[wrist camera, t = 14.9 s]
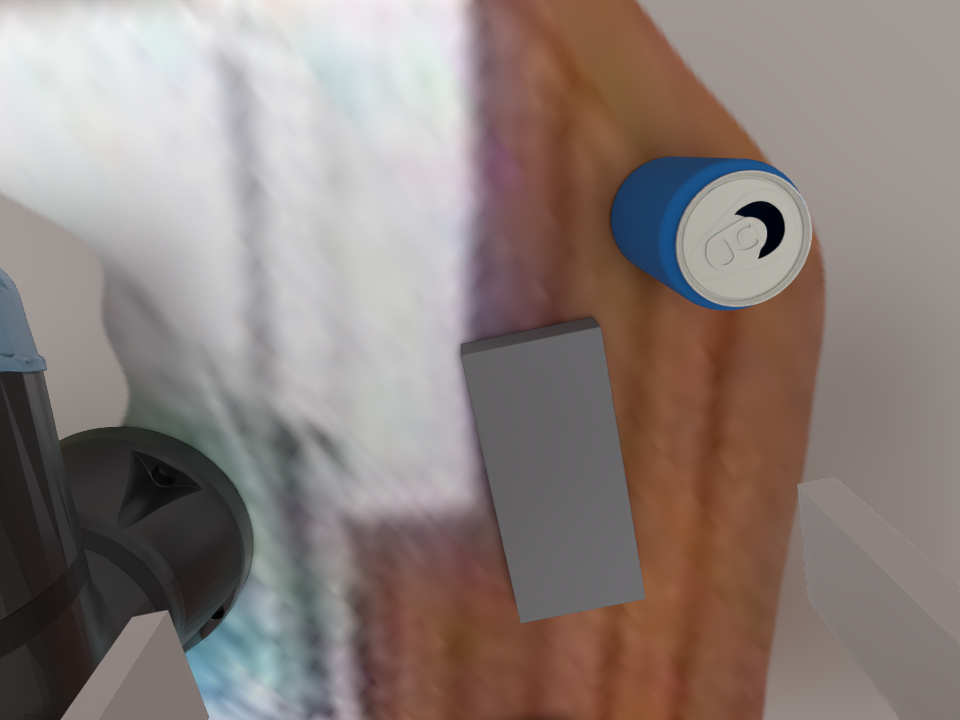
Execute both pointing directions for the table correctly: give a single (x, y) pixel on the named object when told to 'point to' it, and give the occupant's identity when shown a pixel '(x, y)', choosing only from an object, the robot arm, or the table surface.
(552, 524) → the gray rectangular block
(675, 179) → the beverage can
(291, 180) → the table surface
